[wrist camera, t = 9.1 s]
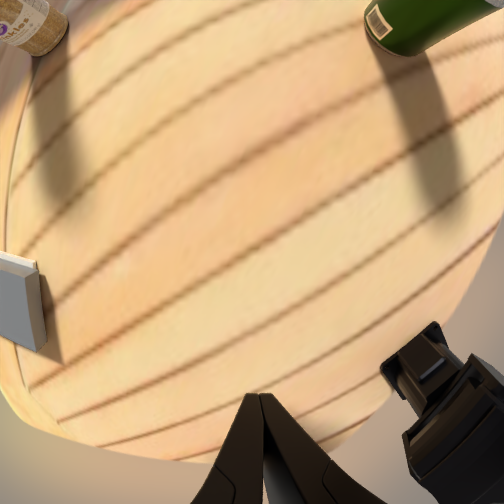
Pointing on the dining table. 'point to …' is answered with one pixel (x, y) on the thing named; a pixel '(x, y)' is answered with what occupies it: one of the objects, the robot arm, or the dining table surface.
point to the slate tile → (21, 305)
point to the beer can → (421, 22)
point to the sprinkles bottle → (31, 25)
